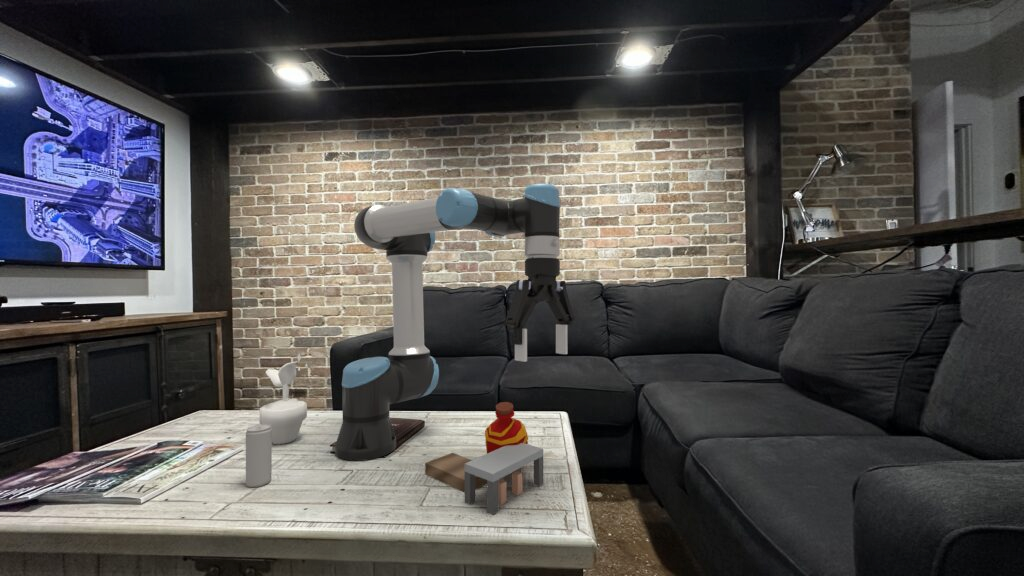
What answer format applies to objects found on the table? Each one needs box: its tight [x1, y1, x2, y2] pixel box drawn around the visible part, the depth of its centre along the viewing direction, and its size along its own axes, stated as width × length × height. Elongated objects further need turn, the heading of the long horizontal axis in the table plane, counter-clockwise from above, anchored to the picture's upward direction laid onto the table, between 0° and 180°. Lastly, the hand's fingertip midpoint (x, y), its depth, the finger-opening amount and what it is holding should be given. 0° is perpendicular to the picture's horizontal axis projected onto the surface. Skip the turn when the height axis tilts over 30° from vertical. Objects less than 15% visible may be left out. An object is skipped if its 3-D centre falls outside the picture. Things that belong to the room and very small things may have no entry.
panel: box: [424, 452, 487, 494], centre depth 92 cm, size 14×8×3 cm, turn 49°
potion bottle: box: [484, 401, 529, 454], centre depth 95 cm, size 10×10×15 cm
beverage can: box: [245, 424, 273, 488], centre depth 90 cm, size 5×5×12 cm
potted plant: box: [259, 352, 309, 445], centre depth 116 cm, size 13×12×25 cm
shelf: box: [464, 443, 545, 516], centre depth 85 cm, size 8×16×8 cm, turn 140°
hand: (542, 357), depth 89 cm, fingers open, 13 cm apart
